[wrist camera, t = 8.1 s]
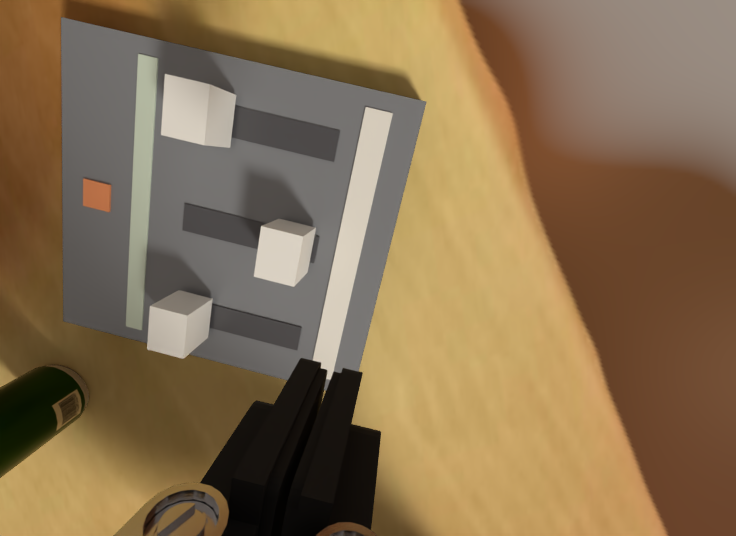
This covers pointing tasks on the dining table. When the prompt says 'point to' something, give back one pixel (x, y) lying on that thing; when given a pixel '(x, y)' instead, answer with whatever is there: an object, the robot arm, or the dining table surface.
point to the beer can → (37, 411)
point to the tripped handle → (284, 251)
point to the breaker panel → (223, 200)
